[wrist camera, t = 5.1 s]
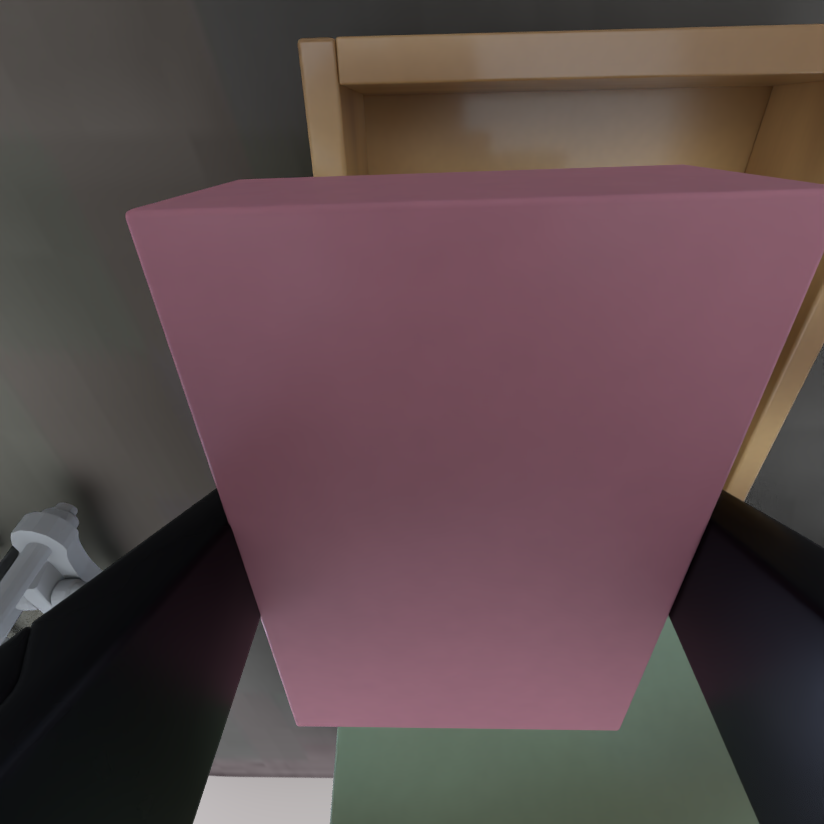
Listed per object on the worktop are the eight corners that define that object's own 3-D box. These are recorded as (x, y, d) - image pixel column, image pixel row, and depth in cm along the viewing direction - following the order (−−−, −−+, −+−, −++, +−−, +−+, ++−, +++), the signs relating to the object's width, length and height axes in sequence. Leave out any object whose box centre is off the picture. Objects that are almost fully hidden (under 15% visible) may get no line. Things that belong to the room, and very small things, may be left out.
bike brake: (-175, 484, 22) (51, 650, 36) (-349, 625, 17) (-10, 758, 30) (101, 478, 22) (225, 648, 35) (8, 619, 17) (194, 756, 30)
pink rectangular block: (685, 164, 6) (857, 187, 4) (577, 598, 11) (620, 732, 8) (236, 179, 6) (119, 209, 4) (324, 598, 11) (296, 727, 9)
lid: (288, 1337, 8) (297, 1295, 9) (1066, 1372, 8) (1023, 1327, 9) (352, 534, 16) (355, 540, 17) (743, 535, 16) (732, 541, 16)
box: (338, 65, 14) (295, 37, 9) (792, 54, 14) (989, 19, 9) (369, 440, 22) (355, 529, 17) (662, 438, 21) (731, 529, 16)
